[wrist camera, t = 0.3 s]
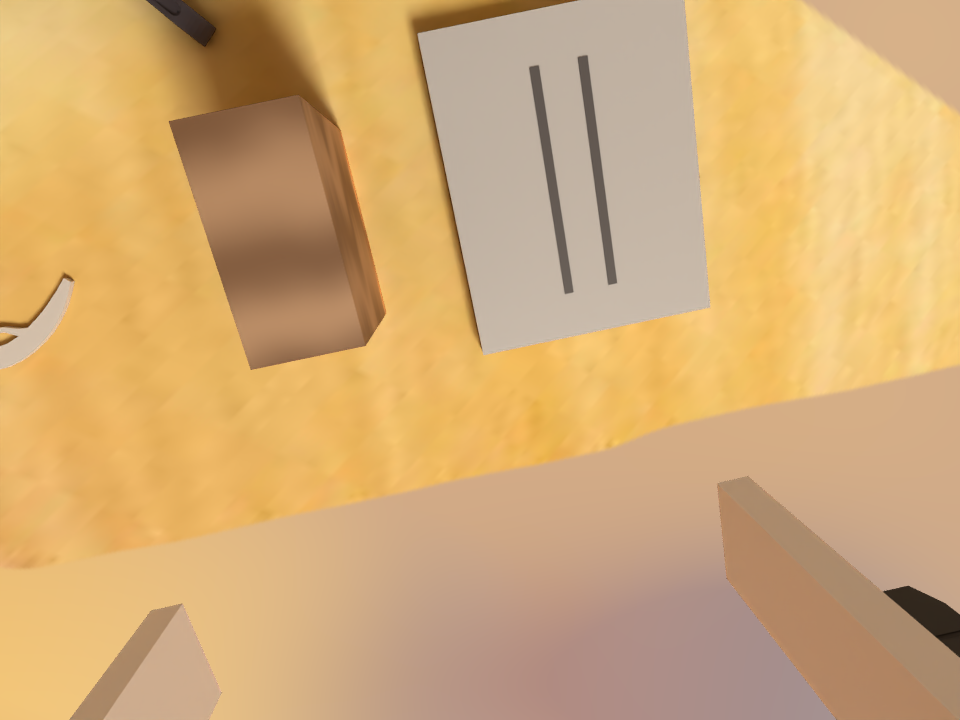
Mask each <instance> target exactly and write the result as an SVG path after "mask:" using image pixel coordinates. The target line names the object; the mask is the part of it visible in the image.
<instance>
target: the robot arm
mask: <svg viewBox="0 0 960 720" xmlns="http://www.w3.org/2000/svg"><path fill="white" fill-rule="evenodd" d="M717 488H718V498H719V508H720V516H721V527H722V536H723V547H724V557H725V567H726V576H727V579H728V581H729V582H730V583H731V585H732V586H733V587H734V589H735V590H736V591H737V592H738V594H739V595H740V596H741V597H742V599H743V600H744V601H745V603H746V604H747V605H748V607H749V608H750V609H751V610H752V612H753V613H754V614H755V615H756V617H757V618H758V619H759V621H760V622H761V623H762V625H763V626H764V627H765V628H766V630H767V631H768V632H769V634H770V635H771V636H772V637H773V639H774V640H775V641H776V643H777V644H778V645H779V646H780V648H781V649H782V650H783V652H784V653H785V654H786V655H787V657H788V658H789V659H790V661H791V662H792V663H793V664H794V666H795V667H796V668H797V670H798V671H799V672H800V673H801V675H802V676H803V677H804V678H805V680H806V681H807V682H808V684H809V685H810V686H811V688H812V689H813V690H814V691H815V693H816V694H817V695H818V697H819V698H820V699H821V701H822V702H823V703H824V704H825V706H826V707H827V708H828V709H829V711H830V712H831V713H832V715H833V716H834V717H835V718H836V720H960V614H958V613H957V612H956V611H954V610H953V609H952V608H950V607H949V606H948V605H947V604H945V603H943V602H941V601H939V600H937V599H935V598H933V597H931V596H929V595H927V594H925V593H922V592H920V591H918V590H916V589H914V588H912V587H910V586H905V587H900V588H896V589H892V590H887V591H883V592H882V591H881V590H880V589H879V588H878V587H877V586H875V585H874V584H873V583H872V582H871V581H870V580H868V579H867V578H866V577H865V576H864V575H863V574H861V573H860V572H859V571H858V570H857V569H856V568H854V567H853V566H852V565H851V564H850V563H849V562H847V561H846V560H845V559H844V558H843V557H842V556H840V555H839V554H838V553H837V552H836V551H835V550H833V549H832V548H831V547H830V546H829V545H828V544H826V543H825V542H824V541H823V540H822V539H820V538H819V537H818V536H817V535H816V534H815V533H814V532H812V531H811V530H810V529H809V528H808V527H807V526H805V525H804V524H803V523H802V522H801V521H800V520H798V519H797V518H796V517H795V516H794V515H792V514H791V513H790V512H789V511H788V510H787V509H786V508H784V507H783V506H782V505H781V504H780V503H779V502H777V501H776V500H775V499H774V498H773V497H772V496H770V495H769V494H768V493H767V492H766V491H765V490H763V489H762V488H761V487H760V486H759V485H757V484H756V483H755V482H754V481H753V480H752V479H751V478H749V477H748V476H747V477H743V478H738V479H734V480H729V481H725V482H721V483H717ZM220 695H221V690H220V688H219V686H218V683H217V681H216V679H215V677H214V674H213V672H212V670H211V668H210V665H209V663H208V661H207V658H206V656H205V654H204V651H203V649H202V647H201V645H200V642H199V640H198V638H197V636H196V633H195V631H194V629H193V626H192V624H191V622H190V620H189V617H188V615H187V613H186V611H185V608H184V606H183V604H179V605H174V606H170V607H165V608H161V609H157V610H152V611H151V612H150V613H149V614H148V616H147V617H146V619H145V620H144V621H143V622H142V624H141V625H140V626H139V628H138V629H137V630H136V632H135V633H134V634H133V636H132V637H131V638H130V640H129V641H128V642H127V644H126V645H125V646H124V648H123V649H122V650H121V652H120V653H119V654H118V656H117V657H116V658H115V660H114V661H113V662H112V664H111V665H110V666H109V668H108V669H107V670H106V672H105V673H104V674H103V676H102V677H101V678H100V680H99V681H98V682H97V684H96V685H95V687H94V688H93V689H92V690H91V692H90V693H89V694H88V696H87V697H86V698H85V700H84V701H83V702H82V704H81V705H80V706H79V708H78V709H77V710H76V712H75V713H74V714H73V716H72V717H71V718H70V720H209V718H210V716H211V714H212V712H213V710H214V708H215V706H216V704H217V701H218V699H219V697H220Z"/></svg>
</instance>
